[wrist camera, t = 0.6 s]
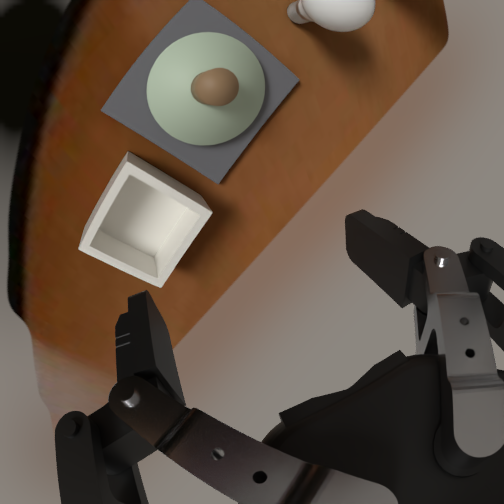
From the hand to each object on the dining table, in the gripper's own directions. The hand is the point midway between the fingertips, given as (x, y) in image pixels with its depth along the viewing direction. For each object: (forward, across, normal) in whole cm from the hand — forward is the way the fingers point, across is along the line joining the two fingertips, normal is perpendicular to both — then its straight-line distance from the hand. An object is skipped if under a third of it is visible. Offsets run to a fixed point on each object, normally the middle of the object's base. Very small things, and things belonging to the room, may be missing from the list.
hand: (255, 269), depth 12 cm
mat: (+22, -4, -6) cm, 23 cm away
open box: (+21, +6, +4) cm, 22 cm away
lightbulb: (+22, -15, -12) cm, 29 cm away
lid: (+21, -4, -6) cm, 22 cm away
